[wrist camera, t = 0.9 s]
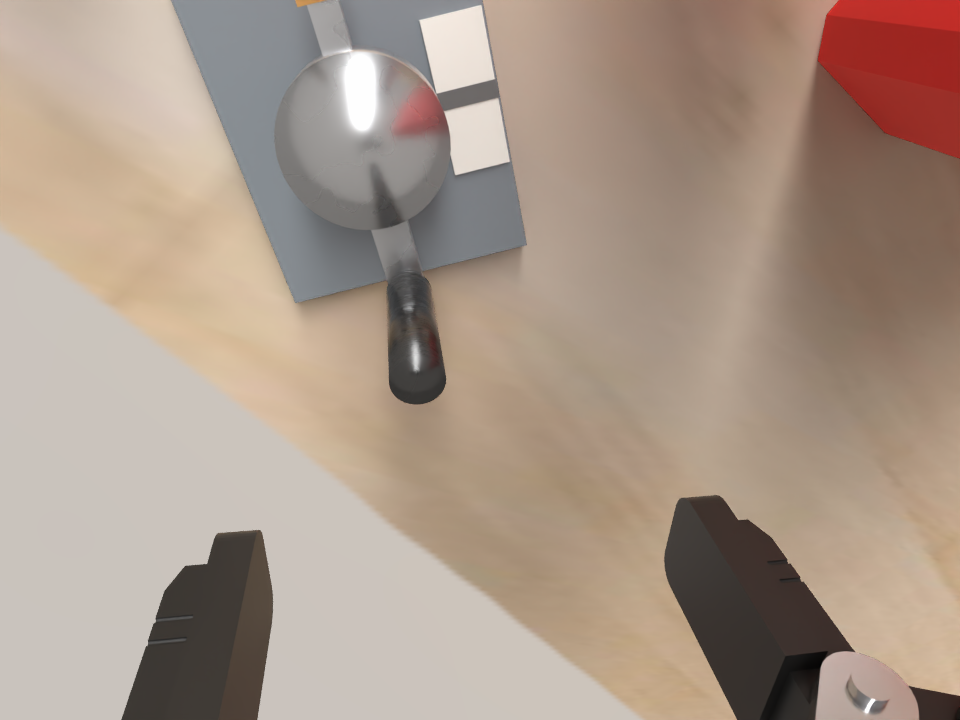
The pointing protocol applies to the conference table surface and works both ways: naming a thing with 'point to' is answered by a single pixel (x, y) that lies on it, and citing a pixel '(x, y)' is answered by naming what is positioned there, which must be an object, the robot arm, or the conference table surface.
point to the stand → (444, 63)
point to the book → (900, 65)
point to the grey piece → (371, 174)
